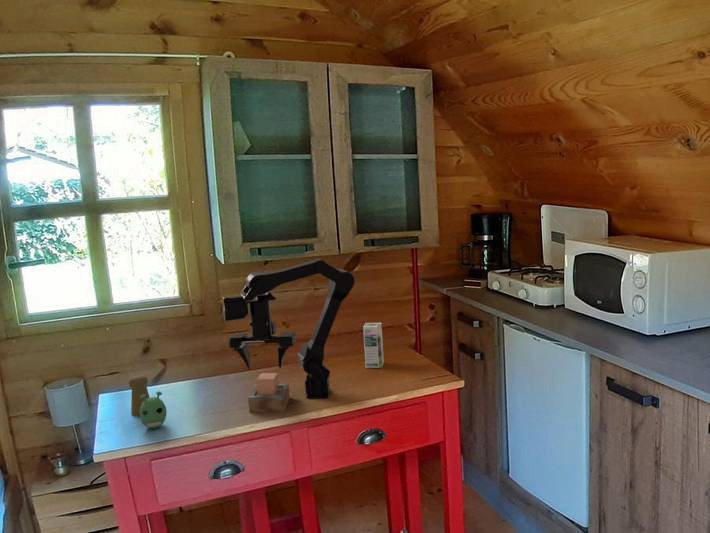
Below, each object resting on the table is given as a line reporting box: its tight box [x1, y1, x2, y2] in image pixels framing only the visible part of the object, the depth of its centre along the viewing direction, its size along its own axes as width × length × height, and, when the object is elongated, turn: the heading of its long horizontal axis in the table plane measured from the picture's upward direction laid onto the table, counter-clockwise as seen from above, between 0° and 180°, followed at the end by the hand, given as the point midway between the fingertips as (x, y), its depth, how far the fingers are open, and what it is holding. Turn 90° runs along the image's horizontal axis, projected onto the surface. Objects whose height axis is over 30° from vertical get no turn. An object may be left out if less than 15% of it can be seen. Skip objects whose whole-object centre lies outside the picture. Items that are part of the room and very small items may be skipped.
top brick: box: [255, 372, 279, 396], centre depth 175 cm, size 5×5×5 cm
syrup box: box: [362, 322, 385, 369], centre depth 202 cm, size 6×6×14 cm
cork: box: [128, 374, 151, 417], centre depth 175 cm, size 6×6×11 cm
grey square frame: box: [247, 383, 291, 413], centre depth 175 cm, size 10×10×5 cm
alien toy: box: [139, 391, 168, 429], centre depth 163 cm, size 7×8×10 cm
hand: (265, 368), depth 174 cm, fingers open, 9 cm apart
